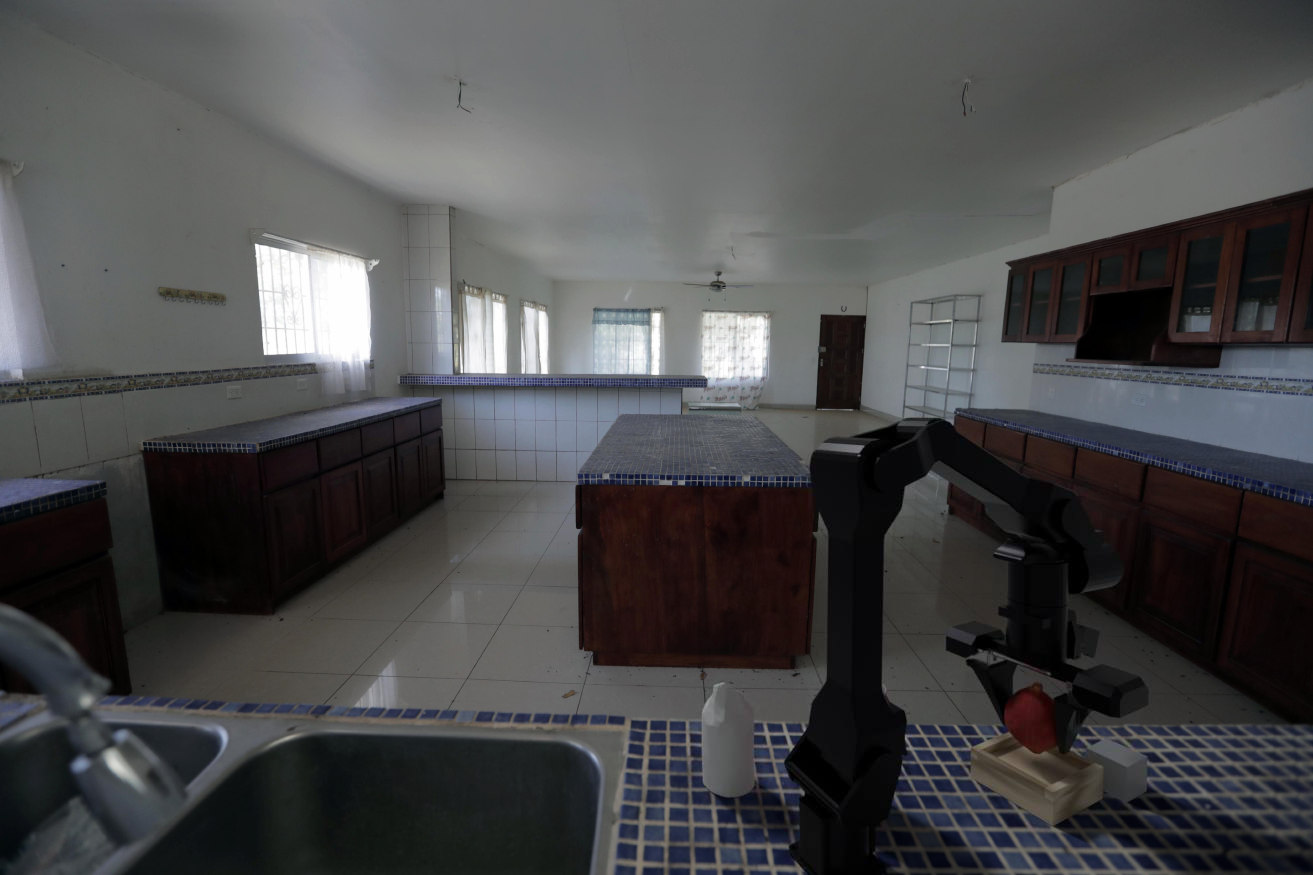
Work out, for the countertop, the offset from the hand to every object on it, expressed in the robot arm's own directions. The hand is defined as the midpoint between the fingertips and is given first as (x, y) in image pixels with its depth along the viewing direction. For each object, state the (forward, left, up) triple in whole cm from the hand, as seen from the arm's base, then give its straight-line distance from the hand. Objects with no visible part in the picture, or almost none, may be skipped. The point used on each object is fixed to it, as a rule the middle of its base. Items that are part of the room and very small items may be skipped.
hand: (1034, 738), depth 65 cm
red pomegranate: (0, 0, -2) cm, 2 cm away
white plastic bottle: (-29, +17, -6) cm, 34 cm away
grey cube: (+8, -4, -6) cm, 11 cm away
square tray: (0, 0, -6) cm, 6 cm away
